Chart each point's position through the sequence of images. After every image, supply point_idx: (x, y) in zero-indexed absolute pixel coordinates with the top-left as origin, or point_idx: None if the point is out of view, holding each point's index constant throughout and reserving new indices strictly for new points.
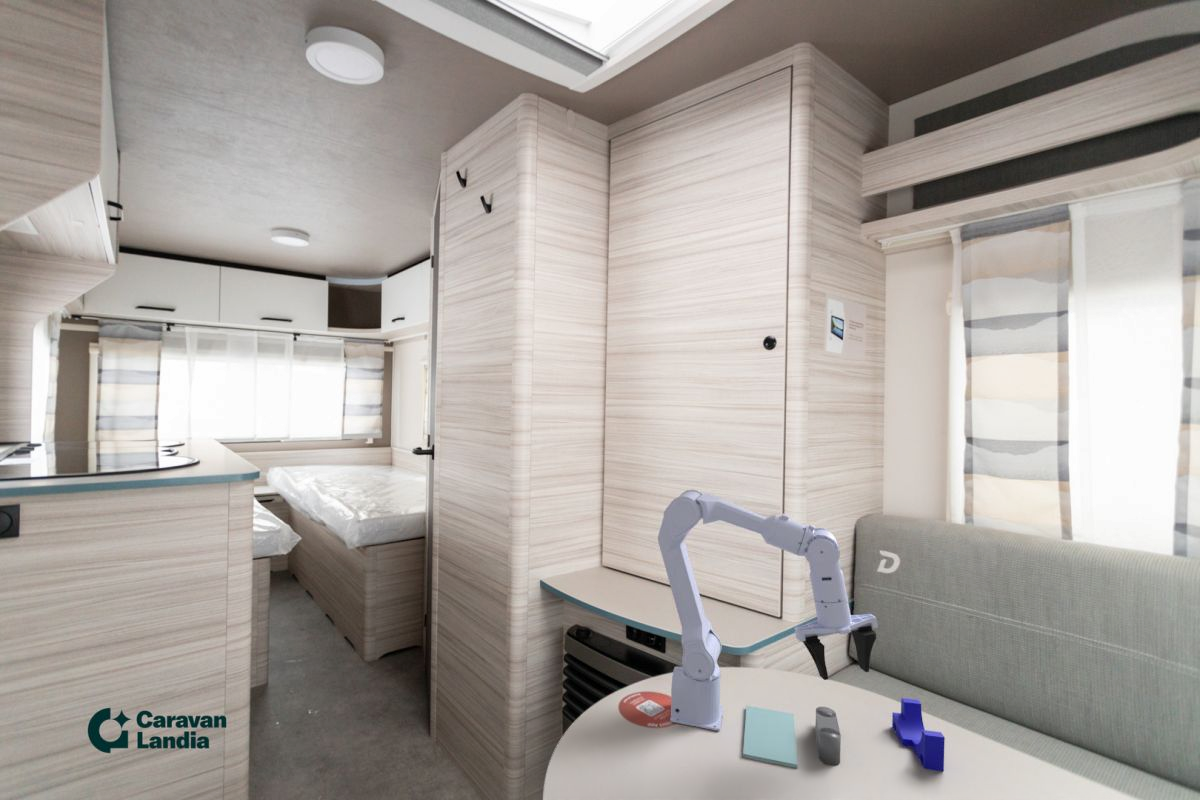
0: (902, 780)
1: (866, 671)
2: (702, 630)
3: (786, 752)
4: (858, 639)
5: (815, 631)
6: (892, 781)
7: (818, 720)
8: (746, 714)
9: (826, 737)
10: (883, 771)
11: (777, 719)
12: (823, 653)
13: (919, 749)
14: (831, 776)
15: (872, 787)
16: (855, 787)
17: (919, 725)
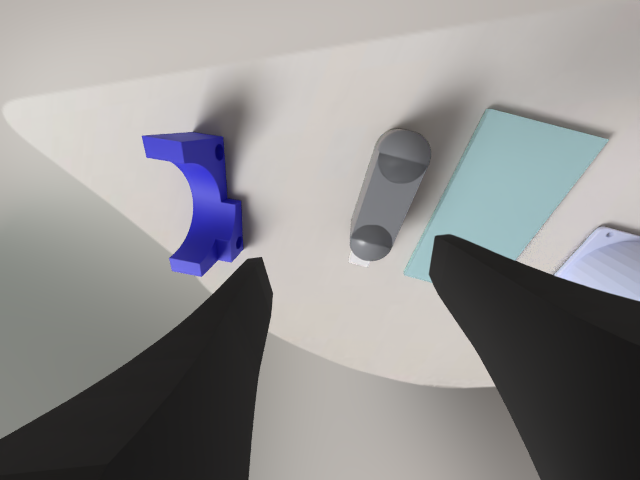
0: (274, 92)
1: (257, 259)
2: None
3: (490, 153)
4: (221, 431)
5: None
6: (295, 85)
7: (405, 210)
8: None
9: (422, 139)
10: (301, 119)
11: None
12: (586, 318)
13: (215, 166)
14: (419, 87)
15: (344, 56)
16: (383, 50)
17: (196, 230)
